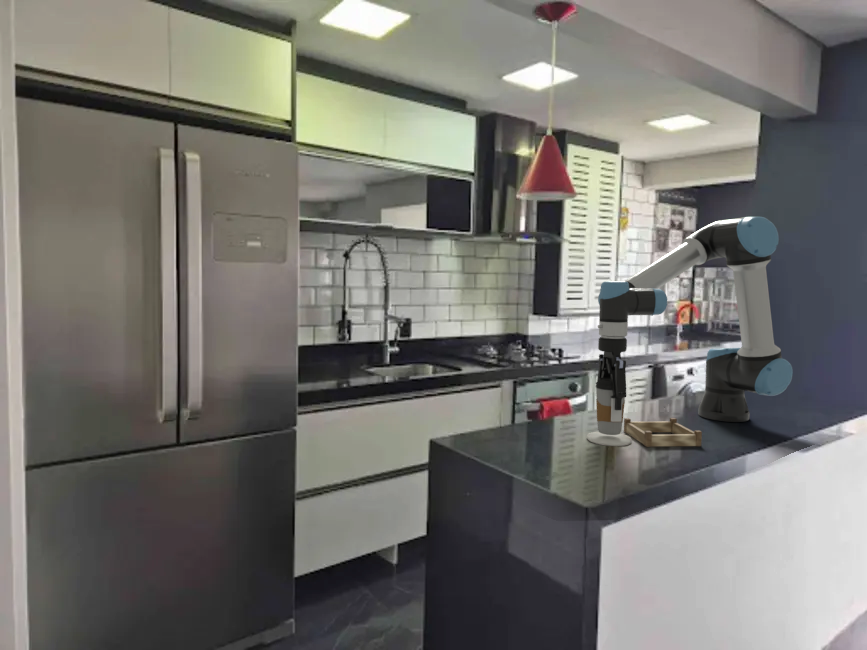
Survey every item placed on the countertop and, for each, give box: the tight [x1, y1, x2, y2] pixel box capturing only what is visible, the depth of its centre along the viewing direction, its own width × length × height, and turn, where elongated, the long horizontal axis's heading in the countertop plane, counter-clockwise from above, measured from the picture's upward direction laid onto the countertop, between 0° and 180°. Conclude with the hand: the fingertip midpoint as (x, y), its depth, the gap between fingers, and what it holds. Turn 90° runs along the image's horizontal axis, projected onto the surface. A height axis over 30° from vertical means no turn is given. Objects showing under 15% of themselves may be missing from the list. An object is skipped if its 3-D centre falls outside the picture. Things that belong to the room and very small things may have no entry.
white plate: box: [586, 430, 633, 447], centre depth 160 cm, size 12×12×1 cm
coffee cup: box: [595, 377, 627, 435], centre depth 159 cm, size 8×8×15 cm
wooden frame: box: [623, 417, 703, 448], centre depth 162 cm, size 15×15×4 cm
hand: (610, 417), depth 160 cm, fingers closed on coffee cup, 8 cm apart
